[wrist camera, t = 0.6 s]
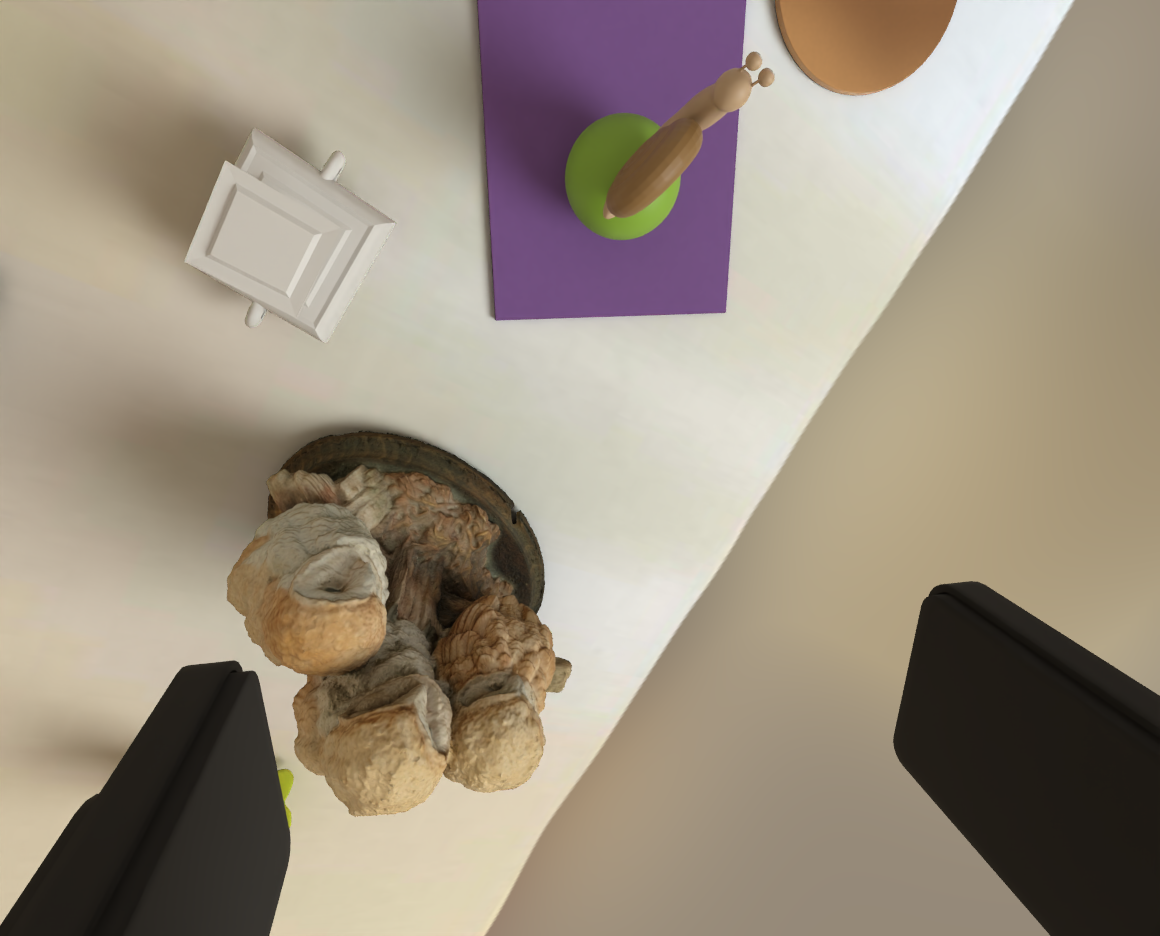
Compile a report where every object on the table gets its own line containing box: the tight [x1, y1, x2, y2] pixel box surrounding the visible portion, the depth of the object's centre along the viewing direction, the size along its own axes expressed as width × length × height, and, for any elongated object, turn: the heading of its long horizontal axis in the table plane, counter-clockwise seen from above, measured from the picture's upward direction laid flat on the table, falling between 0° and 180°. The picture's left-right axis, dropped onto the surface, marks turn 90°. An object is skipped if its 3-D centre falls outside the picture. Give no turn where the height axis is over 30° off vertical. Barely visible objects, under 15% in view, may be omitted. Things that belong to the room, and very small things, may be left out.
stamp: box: [184, 128, 396, 343], centre depth 27 cm, size 9×7×8 cm
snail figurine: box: [565, 52, 775, 240], centre depth 26 cm, size 5×6×12 cm
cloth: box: [477, 0, 746, 320], centre depth 31 cm, size 20×13×1 cm, turn 1°
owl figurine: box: [227, 430, 572, 817], centre depth 29 cm, size 18×12×17 cm, turn 52°
